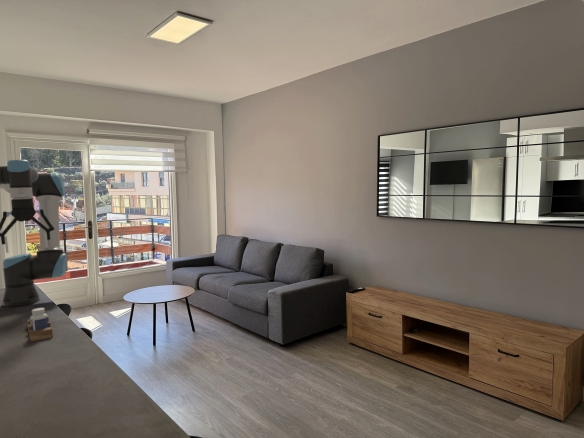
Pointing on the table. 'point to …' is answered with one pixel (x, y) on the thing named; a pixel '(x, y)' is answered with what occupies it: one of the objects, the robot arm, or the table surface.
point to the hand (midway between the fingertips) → (27, 250)
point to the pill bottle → (38, 319)
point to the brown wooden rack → (39, 332)
